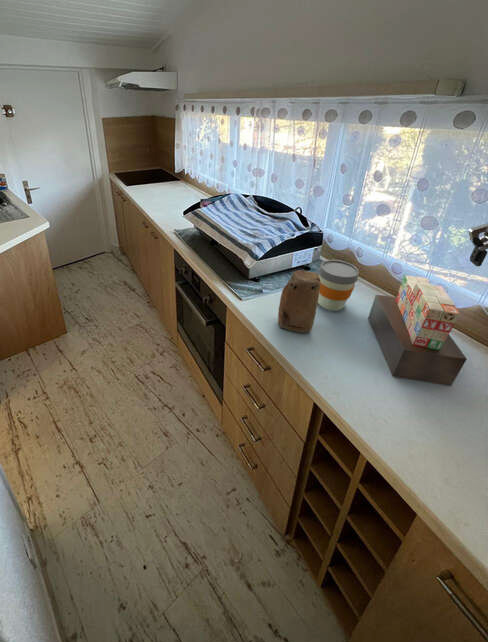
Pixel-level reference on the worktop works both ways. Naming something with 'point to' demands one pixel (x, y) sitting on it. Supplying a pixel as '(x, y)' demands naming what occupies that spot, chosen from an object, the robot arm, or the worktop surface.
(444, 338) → the stack of blocks
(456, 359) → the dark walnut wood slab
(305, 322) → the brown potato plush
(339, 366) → the worktop surface
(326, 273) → the reusable coffee cup
